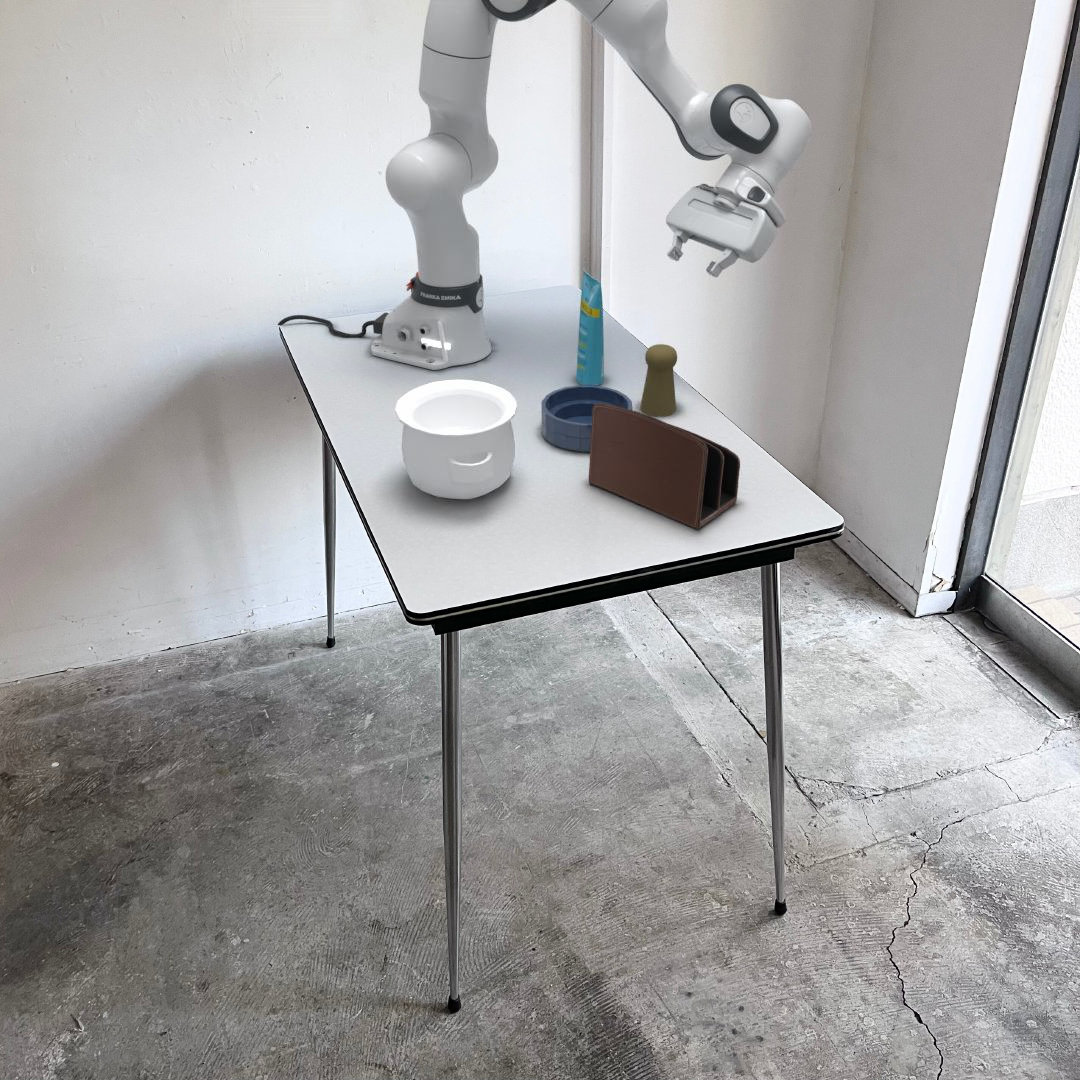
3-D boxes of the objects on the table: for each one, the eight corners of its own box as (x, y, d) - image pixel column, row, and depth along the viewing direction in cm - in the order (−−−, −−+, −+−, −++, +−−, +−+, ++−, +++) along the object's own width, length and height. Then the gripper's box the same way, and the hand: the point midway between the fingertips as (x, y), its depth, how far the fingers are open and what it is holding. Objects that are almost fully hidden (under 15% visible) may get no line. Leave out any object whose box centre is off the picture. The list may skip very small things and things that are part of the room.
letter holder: (697, 531, 150) (705, 440, 143) (587, 483, 162) (588, 397, 154) (737, 503, 157) (747, 414, 149) (628, 459, 168) (632, 375, 160)
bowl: (529, 445, 172) (529, 417, 169) (557, 407, 183) (557, 380, 180) (617, 459, 168) (618, 430, 165) (640, 419, 179) (642, 391, 177)
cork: (674, 418, 180) (678, 356, 174) (637, 414, 181) (641, 353, 175) (677, 402, 185) (682, 341, 179) (642, 399, 186) (645, 338, 180)
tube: (568, 375, 194) (569, 270, 183) (592, 370, 196) (594, 266, 185) (588, 391, 188) (590, 284, 178) (612, 386, 190) (616, 279, 180)
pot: (541, 504, 157) (541, 428, 150) (425, 528, 151) (420, 450, 145) (490, 438, 174) (488, 367, 167) (385, 458, 168) (378, 386, 162)
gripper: (688, 170, 181) (640, 238, 182) (778, 198, 168) (725, 272, 168) (705, 192, 186) (658, 259, 187) (794, 222, 172) (743, 294, 173)
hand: (691, 266), depth 177 cm, fingers open, 8 cm apart
